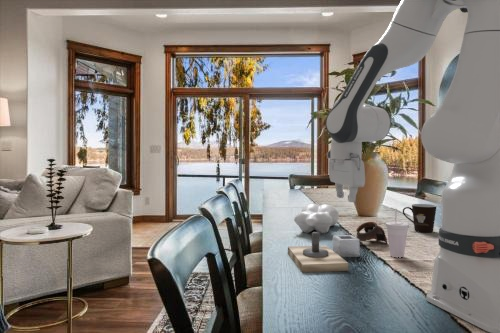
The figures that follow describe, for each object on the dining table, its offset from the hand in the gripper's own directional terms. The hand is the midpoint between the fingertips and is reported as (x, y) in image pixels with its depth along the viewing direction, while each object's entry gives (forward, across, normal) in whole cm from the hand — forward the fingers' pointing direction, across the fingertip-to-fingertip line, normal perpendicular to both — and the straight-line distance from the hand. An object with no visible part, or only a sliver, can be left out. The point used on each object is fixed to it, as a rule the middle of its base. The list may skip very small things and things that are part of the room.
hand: (345, 199), depth 109 cm
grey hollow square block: (+16, 0, 0) cm, 16 cm away
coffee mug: (+17, +29, -41) cm, 53 cm away
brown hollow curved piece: (+17, +12, -14) cm, 25 cm away
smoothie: (+16, -4, -14) cm, 22 cm away
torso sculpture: (+17, +35, -1) cm, 39 cm away
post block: (+16, -6, +11) cm, 21 cm away
